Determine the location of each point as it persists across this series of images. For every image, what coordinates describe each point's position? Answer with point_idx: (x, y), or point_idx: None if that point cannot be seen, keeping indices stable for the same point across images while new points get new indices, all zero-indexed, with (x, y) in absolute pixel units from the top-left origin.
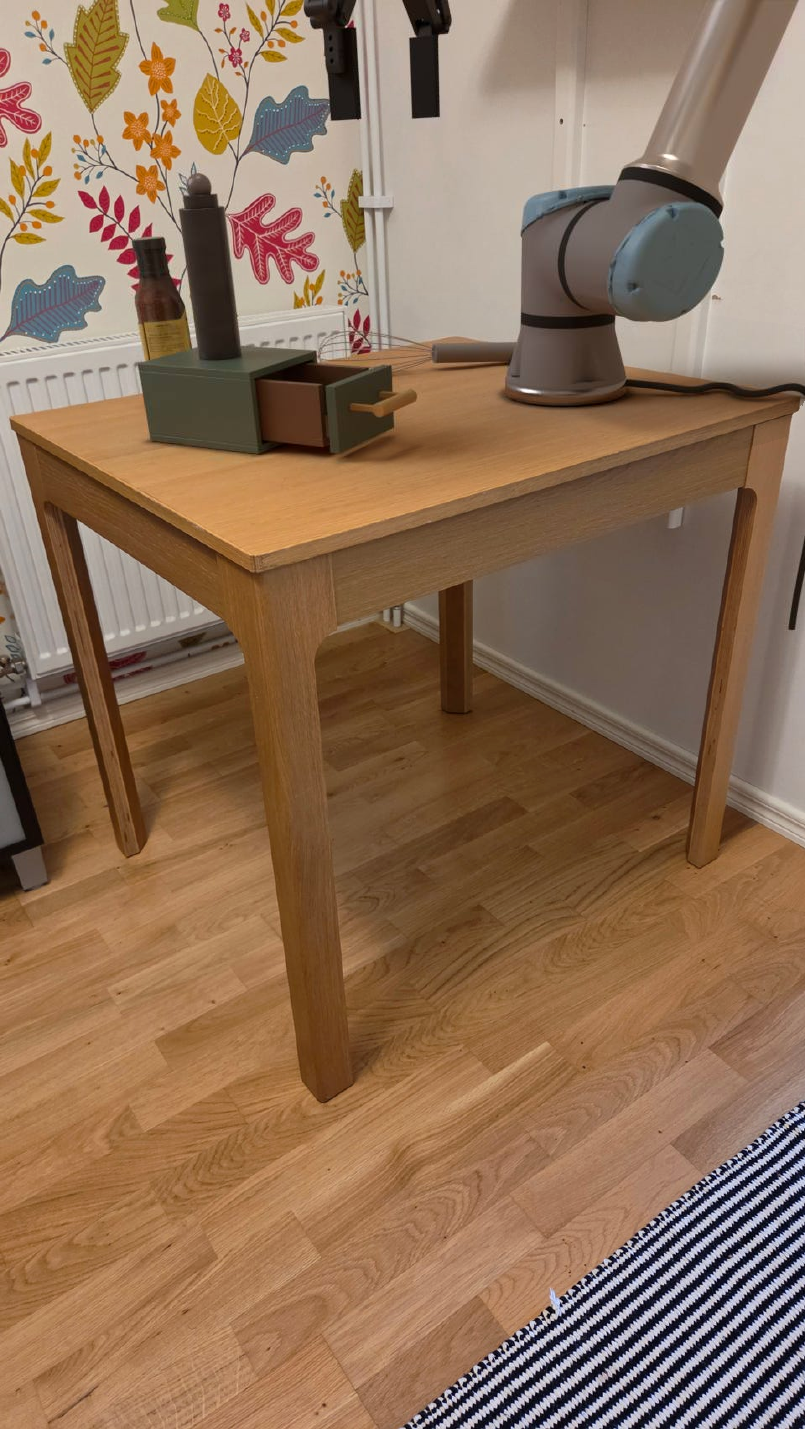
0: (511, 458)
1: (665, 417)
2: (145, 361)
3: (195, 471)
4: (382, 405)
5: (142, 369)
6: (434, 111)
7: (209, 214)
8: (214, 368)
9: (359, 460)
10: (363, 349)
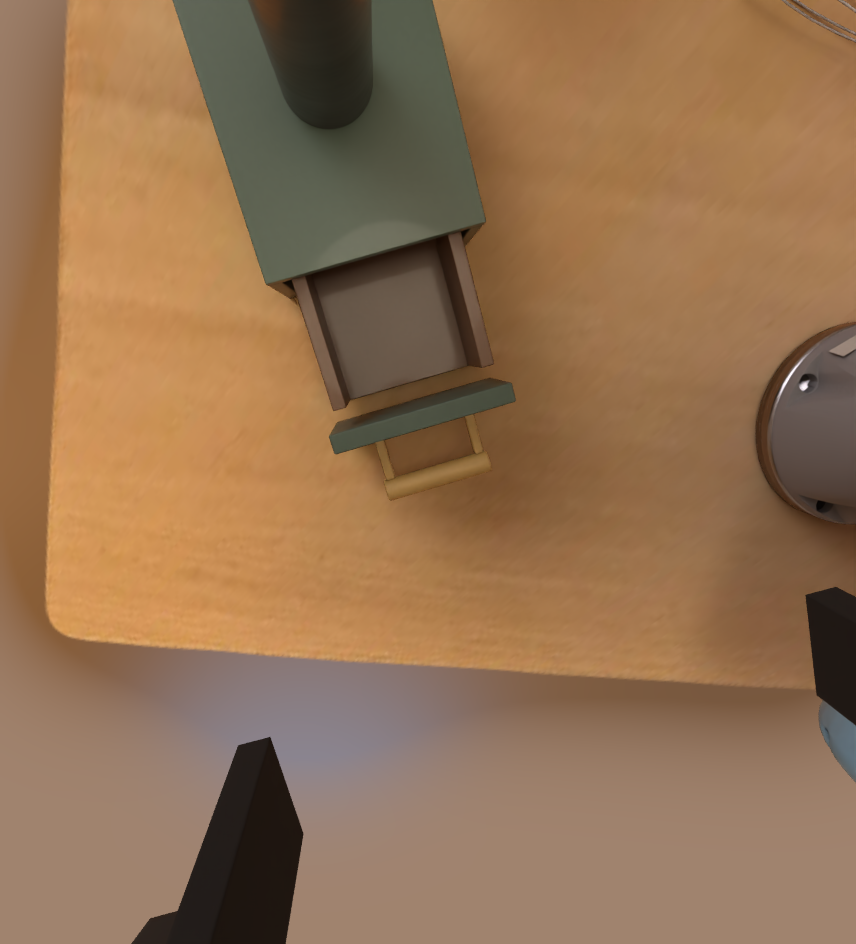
0: (502, 598)
1: (782, 625)
2: None
3: (169, 292)
4: (390, 498)
5: None
6: (831, 700)
7: None
8: (243, 186)
9: (369, 447)
10: None
